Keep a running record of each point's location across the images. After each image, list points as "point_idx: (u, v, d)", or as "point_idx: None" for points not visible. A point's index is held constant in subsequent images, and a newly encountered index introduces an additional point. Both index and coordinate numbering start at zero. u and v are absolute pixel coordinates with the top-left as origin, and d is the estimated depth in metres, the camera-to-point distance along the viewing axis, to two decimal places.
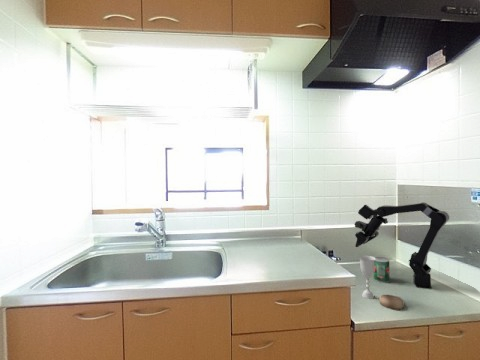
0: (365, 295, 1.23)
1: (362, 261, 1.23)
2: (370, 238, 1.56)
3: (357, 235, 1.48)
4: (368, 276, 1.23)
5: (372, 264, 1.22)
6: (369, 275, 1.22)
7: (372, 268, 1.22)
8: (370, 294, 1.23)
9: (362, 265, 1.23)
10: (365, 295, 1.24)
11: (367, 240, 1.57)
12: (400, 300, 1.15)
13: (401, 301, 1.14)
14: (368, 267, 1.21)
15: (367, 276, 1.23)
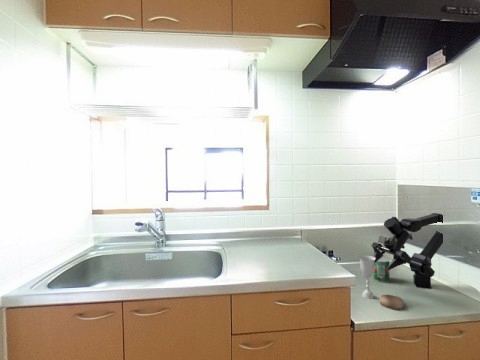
0: (365, 295, 1.23)
1: (362, 261, 1.23)
2: (380, 256, 1.32)
3: (405, 255, 1.18)
4: (368, 276, 1.23)
5: (372, 264, 1.22)
6: (369, 275, 1.22)
7: (372, 268, 1.22)
8: (370, 294, 1.23)
9: (362, 265, 1.23)
10: (365, 295, 1.24)
11: (378, 258, 1.32)
12: (400, 300, 1.15)
13: (401, 301, 1.14)
14: (368, 267, 1.21)
15: (367, 276, 1.23)
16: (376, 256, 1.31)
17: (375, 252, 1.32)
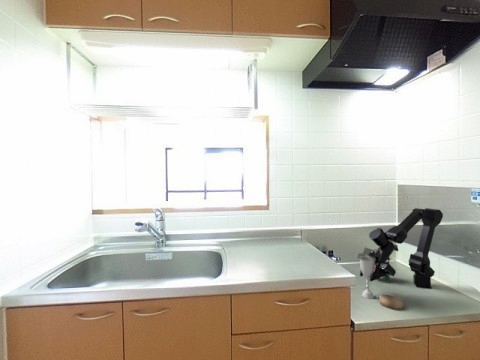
0: (365, 295, 1.23)
1: (362, 261, 1.22)
2: None
3: (389, 268, 1.16)
4: (368, 276, 1.22)
5: (372, 264, 1.21)
6: (369, 275, 1.22)
7: (372, 268, 1.21)
8: (370, 294, 1.23)
9: (362, 265, 1.23)
10: (365, 295, 1.24)
11: None
12: (400, 300, 1.15)
13: (401, 301, 1.14)
14: (368, 267, 1.21)
15: (367, 276, 1.23)
16: None
17: None
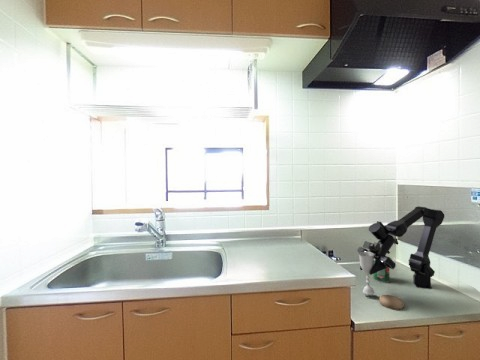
0: (365, 291, 1.23)
1: (361, 257, 1.23)
2: None
3: (389, 261, 1.16)
4: (368, 272, 1.23)
5: (371, 260, 1.21)
6: (369, 271, 1.22)
7: (371, 264, 1.22)
8: (370, 290, 1.23)
9: (361, 261, 1.23)
10: (365, 291, 1.24)
11: None
12: (400, 300, 1.15)
13: (401, 301, 1.14)
14: (367, 263, 1.21)
15: (367, 272, 1.23)
16: None
17: None
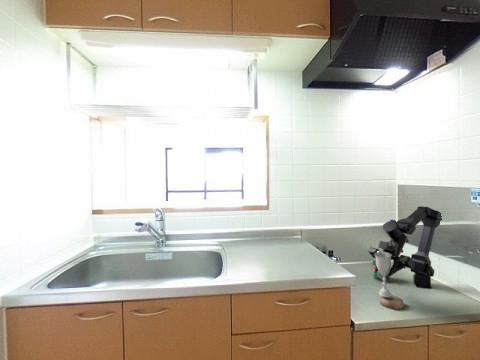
0: (383, 294, 1.17)
1: (379, 258, 1.16)
2: None
3: (410, 261, 1.11)
4: (386, 273, 1.16)
5: (389, 260, 1.15)
6: (387, 272, 1.16)
7: (390, 265, 1.16)
8: (388, 292, 1.17)
9: (379, 263, 1.16)
10: (383, 294, 1.17)
11: None
12: (400, 300, 1.15)
13: (401, 301, 1.14)
14: (386, 264, 1.15)
15: (384, 273, 1.16)
16: None
17: None
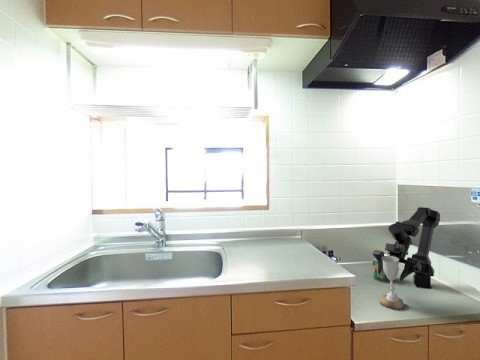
0: (391, 298, 1.15)
1: (387, 263, 1.13)
2: None
3: (417, 263, 1.10)
4: (393, 278, 1.14)
5: (397, 265, 1.13)
6: (394, 277, 1.14)
7: (397, 269, 1.14)
8: (396, 296, 1.15)
9: (387, 267, 1.14)
10: (391, 299, 1.15)
11: (382, 268, 1.21)
12: (400, 300, 1.15)
13: (401, 301, 1.14)
14: (394, 269, 1.13)
15: (392, 278, 1.14)
16: (381, 265, 1.20)
17: (379, 261, 1.21)
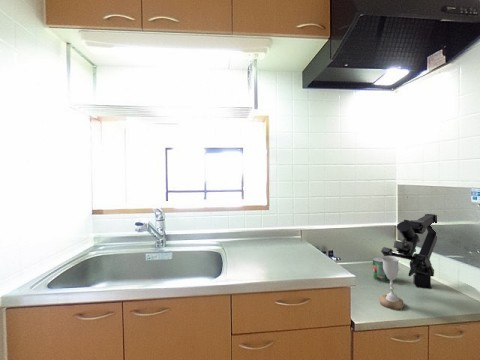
0: (391, 298, 1.15)
1: (387, 263, 1.14)
2: None
3: (425, 260, 1.14)
4: (393, 278, 1.15)
5: (397, 264, 1.14)
6: (394, 277, 1.14)
7: (397, 269, 1.14)
8: (396, 297, 1.15)
9: (387, 267, 1.14)
10: (390, 299, 1.15)
11: None
12: (400, 300, 1.15)
13: (401, 301, 1.14)
14: (394, 268, 1.13)
15: (392, 278, 1.15)
16: None
17: None
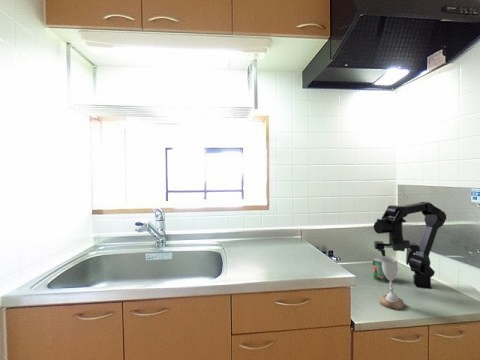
0: (391, 299, 1.15)
1: (386, 263, 1.13)
2: None
3: None
4: (392, 278, 1.14)
5: (396, 265, 1.13)
6: (393, 277, 1.14)
7: (396, 269, 1.13)
8: (395, 297, 1.15)
9: (386, 268, 1.13)
10: (390, 299, 1.15)
11: None
12: (400, 300, 1.15)
13: (401, 301, 1.14)
14: (393, 269, 1.12)
15: (391, 278, 1.14)
16: None
17: (383, 253, 1.30)
